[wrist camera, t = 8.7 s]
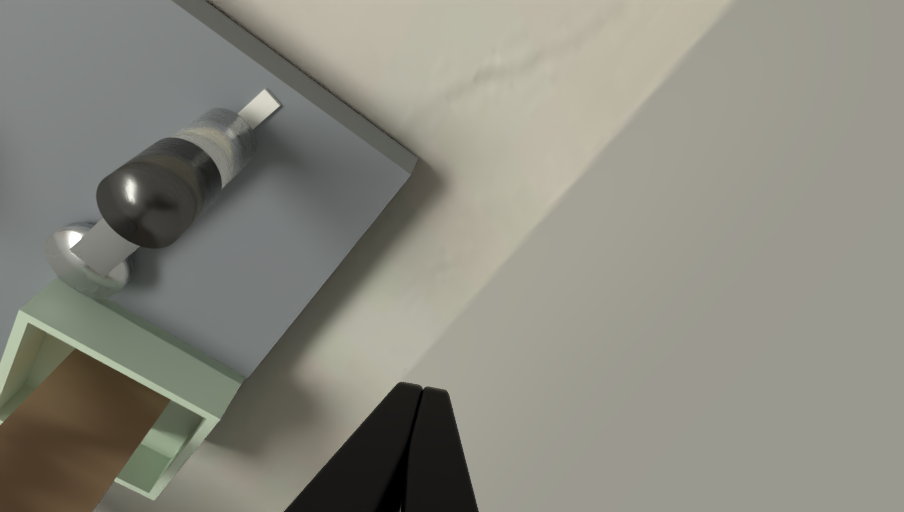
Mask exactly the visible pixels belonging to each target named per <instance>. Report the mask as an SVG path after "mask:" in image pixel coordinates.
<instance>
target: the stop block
mask: <svg viewBox="0 0 904 512" xmlns="http://www.w3.org/2000/svg"><path fill="white" fill-rule="evenodd" d="M170 400H171V399H169V398H167V397H165V396H163V395H161V394H160V393H158V392H156V391H154V390H152V389H150V388H148V387H147V386H145V385H143V384H141V383H139V382H137V381H136V380H134V379H132V378H130V377H128V376H126V375H124V374H123V373H121V372H119V371H117V370H115V369H113V368H112V367H110V366H108V365H106V364H104V363H102V362H100V361H99V360H97V359H95V358H93V357H91V356H89V355H88V354H86V353H84V352H82V351H80V350H78V349H76V348H75V349H74V350H73V351H72V352H71V353H70V354H69V355H68V356H67V357H66V358H65V360H64V361H63V362H62V363H61V364H60V365H59V366H58V367H57V368H56V369H55V370H54V371H53V372H52V373H51V374H50V375H49V376H48V377H47V378H46V379H45V380H44V381H43V382H42V383H41V384H40V385H39V386H38V387H37V388H36V389H35V390H34V391H33V392H32V393H31V394H30V395H29V396H28V397H27V398H26V399H25V400H24V401H23V402H22V403H21V404H20V405H19V406H18V407H17V408H16V409H15V410H14V411H13V412H12V413H11V414H10V415H9V416H8V418H7V419H6V420H5V421H4V422H3V423H2V424H1V425H0V512H92V511H93V510H94V508H95V507H96V505H97V504H98V503H99V501H100V500H101V498H102V497H103V496H104V494H105V493H106V491H107V490H108V488H109V487H110V486H111V484H112V483H113V481H114V480H115V479H116V477H117V476H118V474H119V473H120V472H121V470H122V469H123V467H124V466H125V464H126V463H127V462H128V460H129V459H130V457H131V456H132V455H133V453H134V452H135V450H136V449H137V448H138V446H139V445H140V443H141V442H142V440H143V439H144V438H145V436H146V435H147V433H148V432H149V431H150V429H151V428H152V426H153V425H154V423H155V422H156V421H157V419H158V418H159V416H160V415H161V413H162V412H163V411H164V409H165V408H166V406H167V405H168V403H169V402H170Z"/></svg>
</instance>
